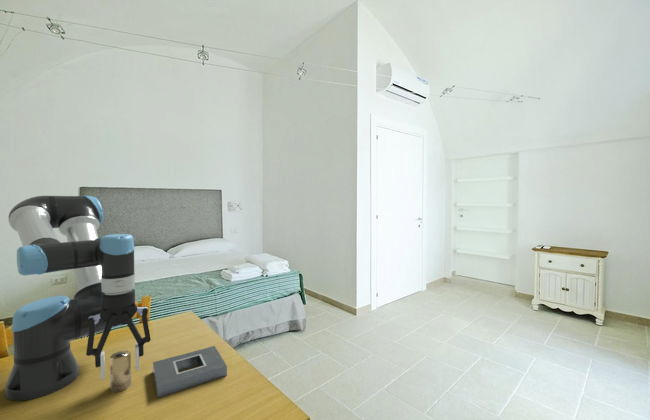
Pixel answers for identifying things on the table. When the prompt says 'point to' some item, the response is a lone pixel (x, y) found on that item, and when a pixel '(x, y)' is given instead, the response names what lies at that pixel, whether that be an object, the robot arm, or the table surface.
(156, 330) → the table surface
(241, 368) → the table surface
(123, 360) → the brass domed cylinder
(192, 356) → the plate
